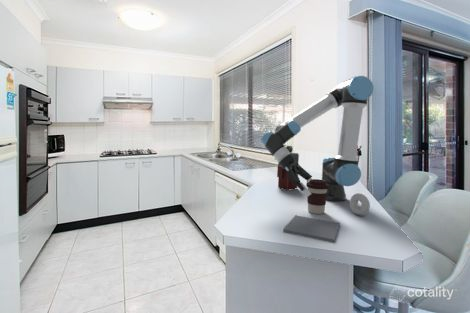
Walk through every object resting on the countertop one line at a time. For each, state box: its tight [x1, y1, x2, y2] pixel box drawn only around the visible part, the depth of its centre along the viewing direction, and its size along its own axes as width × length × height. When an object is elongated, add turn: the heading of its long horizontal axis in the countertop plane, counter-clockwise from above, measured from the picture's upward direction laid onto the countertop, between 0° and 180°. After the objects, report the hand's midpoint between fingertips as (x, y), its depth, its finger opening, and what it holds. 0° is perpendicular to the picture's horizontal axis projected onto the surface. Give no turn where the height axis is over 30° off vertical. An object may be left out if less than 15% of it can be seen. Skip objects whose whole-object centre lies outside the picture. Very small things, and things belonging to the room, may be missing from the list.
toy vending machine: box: [276, 145, 300, 191], centre depth 166 cm, size 9×11×28 cm
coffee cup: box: [305, 178, 329, 215], centre depth 119 cm, size 10×10×15 cm
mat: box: [282, 215, 341, 243], centre depth 99 cm, size 18×18×1 cm
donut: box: [349, 193, 371, 217], centre depth 116 cm, size 10×4×10 cm, turn 21°
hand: (313, 192), depth 119 cm, fingers open, 13 cm apart
